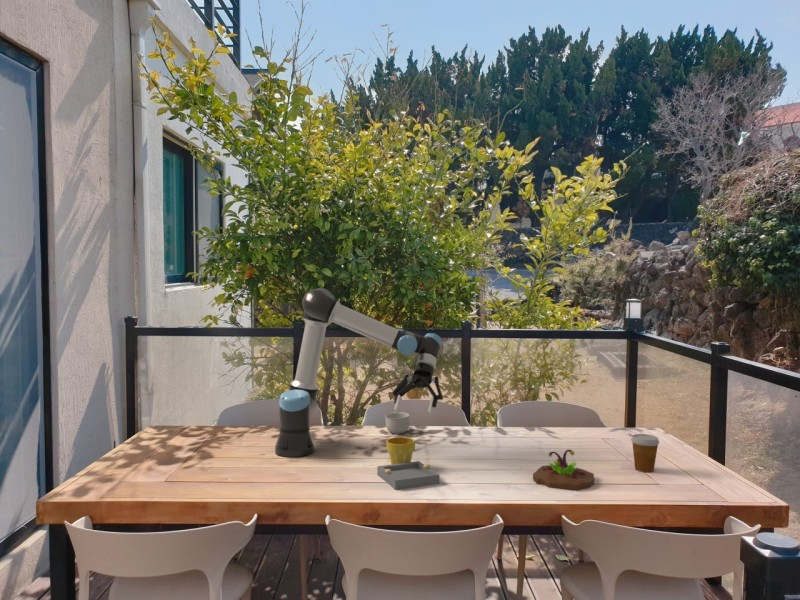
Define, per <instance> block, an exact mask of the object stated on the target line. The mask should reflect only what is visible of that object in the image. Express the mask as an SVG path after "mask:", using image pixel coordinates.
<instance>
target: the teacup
mask: <svg viewBox="0 0 800 600" xmlns="http://www.w3.org/2000/svg"><path fill="white" fill-rule="evenodd" d="M384 417H385V427H386V430H387V431H388V432H389V433H390V434H393V435H401V434H404V433H406V432H407V431H408V430H409V428H410V414H409V413H407V412H403V411H402V412H399V411H398V413H396V412H395V411H393V412H389V413H386V414H385V416H384Z"/></svg>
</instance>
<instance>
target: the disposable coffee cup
mask: <svg viewBox="0 0 800 600" xmlns="http://www.w3.org/2000/svg"><path fill="white" fill-rule="evenodd" d="M630 440H631V442H632V449H633V450H632V451H633V460H634V469H635V470H636V471H639V472H641V473H653V472H654V471H655V465H656V458H657V453H658V445H659V444H660V440H659V438H658V436H654V435H652V434H646V433H645V434H644V433H635V434H633V435H632V437H631V438H630Z"/></svg>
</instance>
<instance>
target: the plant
mask: <svg viewBox="0 0 800 600" xmlns="http://www.w3.org/2000/svg"><path fill="white" fill-rule="evenodd" d="M568 453H569V455H571V456H574V455H575V451H573V450H572V449H566V450H565V452H563V455H562V457H561V455H560V454H559V453H557V452H556V451H551V452H548V456H549V457H553V454H555V455H556V457H557V458H556V459H555V460H553V461H552V462H553V463H550V462H548V464H547V465H542V466H540V467H539V468H537V470H535V472H533V473H532V479H533V482H534V483H536V484H537V485H542V486H545V487H547V488H550V489H557V490H565V491H575V492H578V491H583V490H587V489H590V488H592V487H593V486H594V485H595V481H596V480H595V479H596V478H595V473H592V472H590V471H588V470H585V469H583V468H579V467H576V465H577V462H572V463H570V464H568V461H567V454H568Z"/></svg>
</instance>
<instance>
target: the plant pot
mask: <svg viewBox="0 0 800 600" xmlns="http://www.w3.org/2000/svg"><path fill="white" fill-rule="evenodd" d="M385 446H386V451H387V452H388V455H389V461H390V465H391V464H399V463H407V462H412V458H413V454H414V453H413V452H415V448H416V442H415V439H414V438H411V437H406V436H394V437H390V438H387V440H386V445H385Z"/></svg>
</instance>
